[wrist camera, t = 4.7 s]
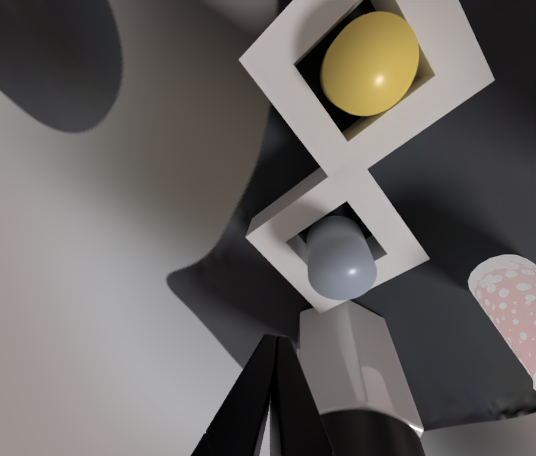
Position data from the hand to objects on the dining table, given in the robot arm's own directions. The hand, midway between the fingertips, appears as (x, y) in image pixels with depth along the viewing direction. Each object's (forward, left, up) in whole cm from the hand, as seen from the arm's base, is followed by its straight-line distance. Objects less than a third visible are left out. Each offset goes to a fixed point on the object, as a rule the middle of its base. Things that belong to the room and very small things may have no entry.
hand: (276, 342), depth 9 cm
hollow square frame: (-8, -4, -13) cm, 16 cm away
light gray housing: (-1, +4, -13) cm, 14 cm away
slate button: (-1, +4, -11) cm, 12 cm away
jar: (+5, +14, -13) cm, 20 cm away
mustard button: (-8, -4, -12) cm, 15 cm away
